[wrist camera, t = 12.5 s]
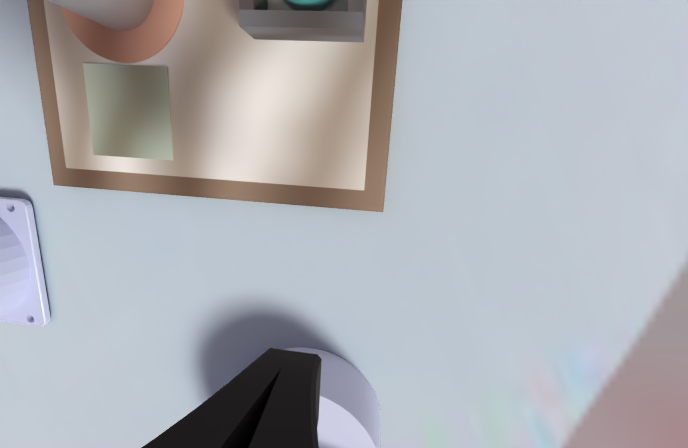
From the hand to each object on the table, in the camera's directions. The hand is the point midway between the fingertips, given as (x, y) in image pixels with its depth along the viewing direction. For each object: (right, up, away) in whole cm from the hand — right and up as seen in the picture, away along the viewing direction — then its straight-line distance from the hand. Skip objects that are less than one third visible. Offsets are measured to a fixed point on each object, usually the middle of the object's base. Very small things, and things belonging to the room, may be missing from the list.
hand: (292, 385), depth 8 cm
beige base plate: (-5, +12, +8) cm, 15 cm away
